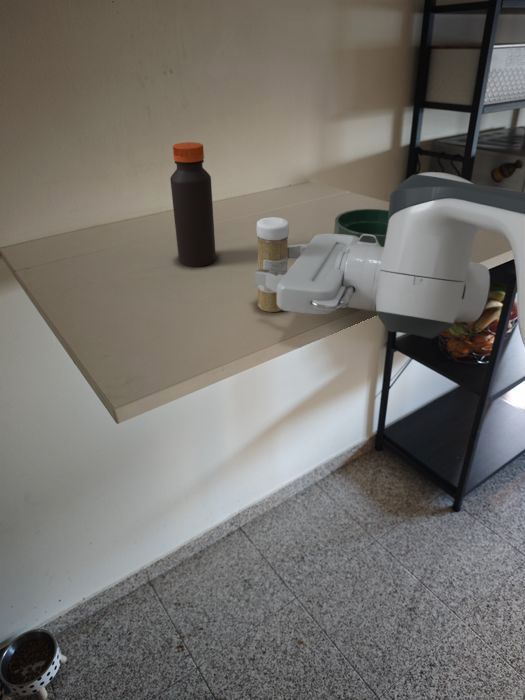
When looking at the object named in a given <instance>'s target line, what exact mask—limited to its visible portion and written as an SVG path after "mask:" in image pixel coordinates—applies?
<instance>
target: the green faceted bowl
mask: <svg viewBox="0 0 525 700" xmlns="http://www.w3.org/2000/svg"><path fill="white" fill-rule="evenodd" d="M388 213H389V209H381V208H360V209H351V210H347V211H344V212H341V213H339V214H338V215H336V216H335V218H334V229H333V234H345V235H353V236H357V237H359V238H360V236H361V235H362V234H370V235H374V236H375V237H376V239H377V241H378V243H379V244H380V246H381V247H384V245H385V240H386V234H387V228H388Z"/></svg>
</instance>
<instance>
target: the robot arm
mask: <svg viewBox="0 0 525 700" xmlns="http://www.w3.org/2000/svg"><path fill="white" fill-rule="evenodd" d="M388 203H389V205H388V210H389V213H388V228H387V234H386V240H385V245H384V247H381V246H380V244H379V243H378V241H377V239H376V237H375V236H374V235H370V234H362V235H361V236H360V238H359V237H357V236H353V235H345V234H334V233H328V232H327V233H319V234H315V235H314V237H313V238H312V239H311V240H310V242H309V243H298V244H290V245H288V244H287V256H288V257H287V260H289V259H296V260H295V261H294V262H293V263H292V265H291V266H290V267H289V268H288V269H287V273H286V274H285V275H281V274H278V275H277V276H276V275H273V274H271V273H269V270H266V269H264V270H263V269H258V268H257V270H256V271H255V272H254V273H253V283H254V284H255V285H256V286H258V285H263V286H266V287H267V288H269V289H271V290H272V291H274V292H277V306H278V307H279V308H281V309H282V310H281V311H284V312H291V313H298V314H308V315H309V314H310V315H327V314H330V313H333V312H336V311H337V310H340V309H346V308H351V309H357V310H363V311H369V312H375V313H376V315H377V317H378V318H379V320H380V322H381V323H382V324H383V326H384V327H385V328H386V330H387V331H388V332H391V333H401V334H408V335H413V336H417V337H423V338H426V339H431V340H434V339H435V338H436V337H438V336H441V335H442V334H443V333H445V332H446V331H448V330H449V329H450V328H451V327H453V325H454V323H474V322H476V321H478V320H479V319H480V317H481V316H482V315H483V312H484V311H485V309H486V307H487V304H488V301H489V298H490V292H491V284H492V283H491V273H490V270H489V268H488V267H487V266H486V265H484V264H482V263H479V262H476V261H472V260H471V256H472V252H473V246H474V242H475V239H476V236H477V233H478V231H479V229H480V228H481V229H484V230H489V231H492V232H494V233H498V234H502V235H503V236H504V237H505V238H506V239H507V241H508V242H509V245H510V248H511V251H512V255H513V260H514V268H515V276H516V277H515V278H516V317H517V326H518V330H519V334H520V337H521V342H522V343H523V346H524V347H525V192H523V191H520V190H513V189H507V188H502V187H498V186H497V187H496V186H490V185H483V184H482V185H481V184H476V183H473V182H472V181H470V180H467V179H466V178H463V177H461V176H458V175H455V174H450V173H446V172H440V171H439V172H437V171H427V172H421V173H418V174H417V173H416V174H412V175H411V176H409V177H408V178H406V179H405V180H404V181H403V182H401V183H400V184H399V185H398V186H397V187H396V188H395V189H394V190H393V191H392V192H391V194H390V195H389V202H388Z"/></svg>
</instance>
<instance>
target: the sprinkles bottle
mask: <svg viewBox="0 0 525 700" xmlns="http://www.w3.org/2000/svg"><path fill="white" fill-rule="evenodd" d="M289 235H290V223H289V221H288V220H287V219H284V218H282V217H277V216H274V217H273V216H269V217H268V216H267V217H263V218H261V219H259V220H258V221H257V222H256V236H257V270H258V269H263V270H264V269H266V270H269V273H271V274H273V275H276V276H277V275H278V274H281V275H285V274H286V273H287V271H288V259H287V257H288V256H287V245H288V239H289ZM257 287H258V289H257V295H258V297H257V306H258V308H259V309H260V310H262V311H264V312H267V313H275V312H277V313H278V312H281V311H283V310H282V309H281V308H279V307H278V306H277V292H274V291H272V290H271V289H269V288H267V287H266V286H263V285H257Z"/></svg>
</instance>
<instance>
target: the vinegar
mask: <svg viewBox="0 0 525 700" xmlns="http://www.w3.org/2000/svg"><path fill="white" fill-rule="evenodd" d="M172 153H173V160H174V164H176V169H175V171H174V172H173V173H172V175H171V176H170V178H169V180H170V189H171V191H170V192H171V199H172V208H173V216H174V228H175V237H176V238H175V239H176V247H177V255H178V257H177V258H178V261H179V263H180V264H181V265H183V266H186V267H190V268H200V267H206V266H208V265H211V264H213V263H214V262H215V261H216V258H217V256H216V254H217V253H216V240H215V239H216V237H215V221H214V207H213V190H212V188H213V187H212V177H211V174H210V173H209V172H207V170H206V169H205V168H204V167H203V166H204V165H203V163H204V162H205V153H204V144H202V143H200V142H191V141H190V142H189V141H188V142H179V143H178V142H177V143H175V144H173V145H172Z"/></svg>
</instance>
